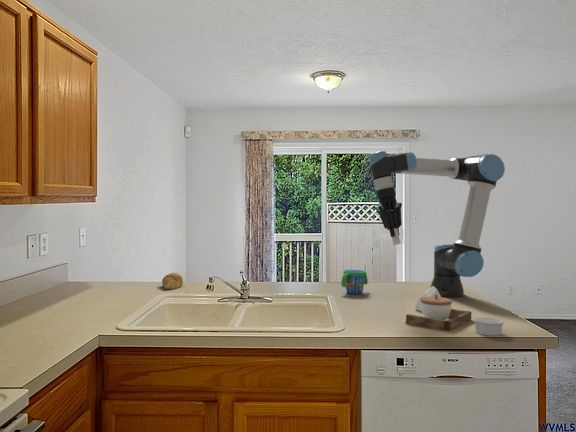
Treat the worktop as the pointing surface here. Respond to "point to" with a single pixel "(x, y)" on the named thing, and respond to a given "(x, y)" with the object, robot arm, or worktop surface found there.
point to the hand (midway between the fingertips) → (397, 244)
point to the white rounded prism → (428, 293)
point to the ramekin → (488, 326)
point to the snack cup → (354, 281)
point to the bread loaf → (172, 281)
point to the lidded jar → (436, 307)
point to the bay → (456, 320)
